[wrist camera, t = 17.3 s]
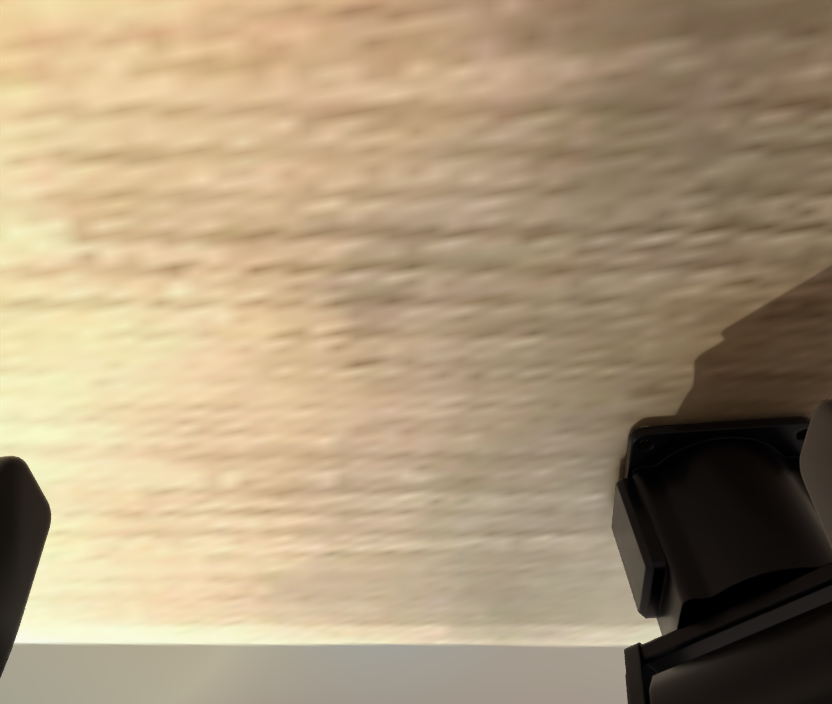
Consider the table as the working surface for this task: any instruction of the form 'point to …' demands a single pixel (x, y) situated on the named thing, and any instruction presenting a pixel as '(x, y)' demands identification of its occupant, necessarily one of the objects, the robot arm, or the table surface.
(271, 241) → the table surface
